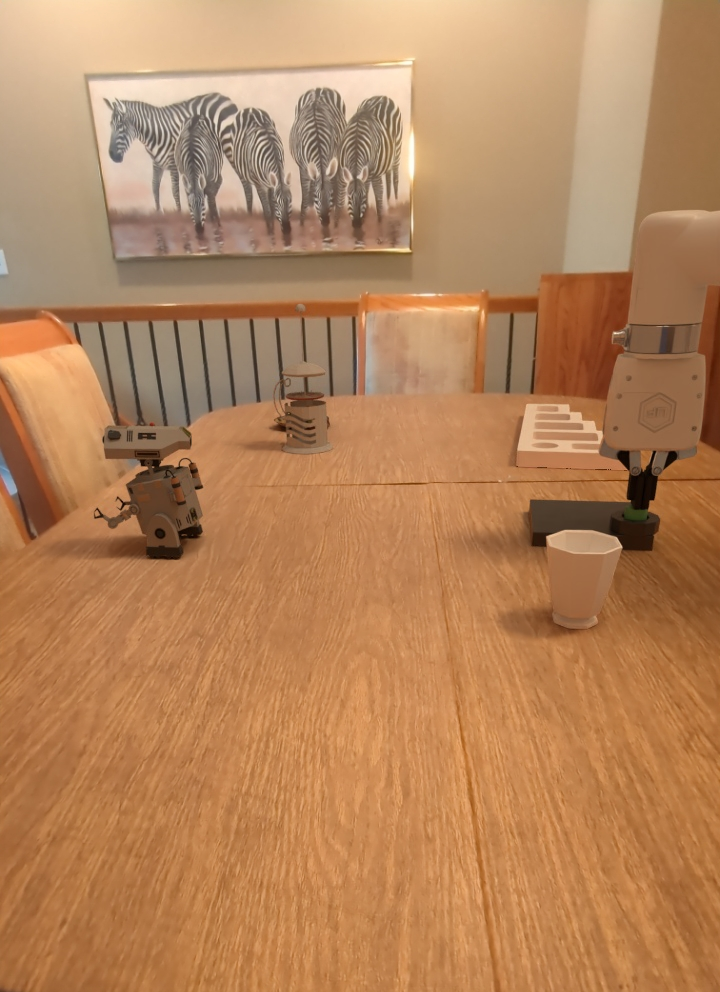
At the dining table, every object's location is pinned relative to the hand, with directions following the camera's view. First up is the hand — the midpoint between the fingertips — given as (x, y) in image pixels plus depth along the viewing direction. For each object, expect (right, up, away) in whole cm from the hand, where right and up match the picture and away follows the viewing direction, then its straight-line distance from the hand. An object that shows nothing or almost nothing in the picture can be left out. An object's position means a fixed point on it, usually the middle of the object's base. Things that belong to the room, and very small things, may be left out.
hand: (639, 505), depth 90 cm
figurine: (-59, -4, +5) cm, 59 cm away
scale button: (0, -1, +1) cm, 2 cm away
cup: (-12, -14, -15) cm, 23 cm away
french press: (-44, +20, +54) cm, 72 cm away
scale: (-4, -2, +7) cm, 8 cm away
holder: (+7, +22, +55) cm, 59 cm away
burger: (-46, +29, +71) cm, 89 cm away
